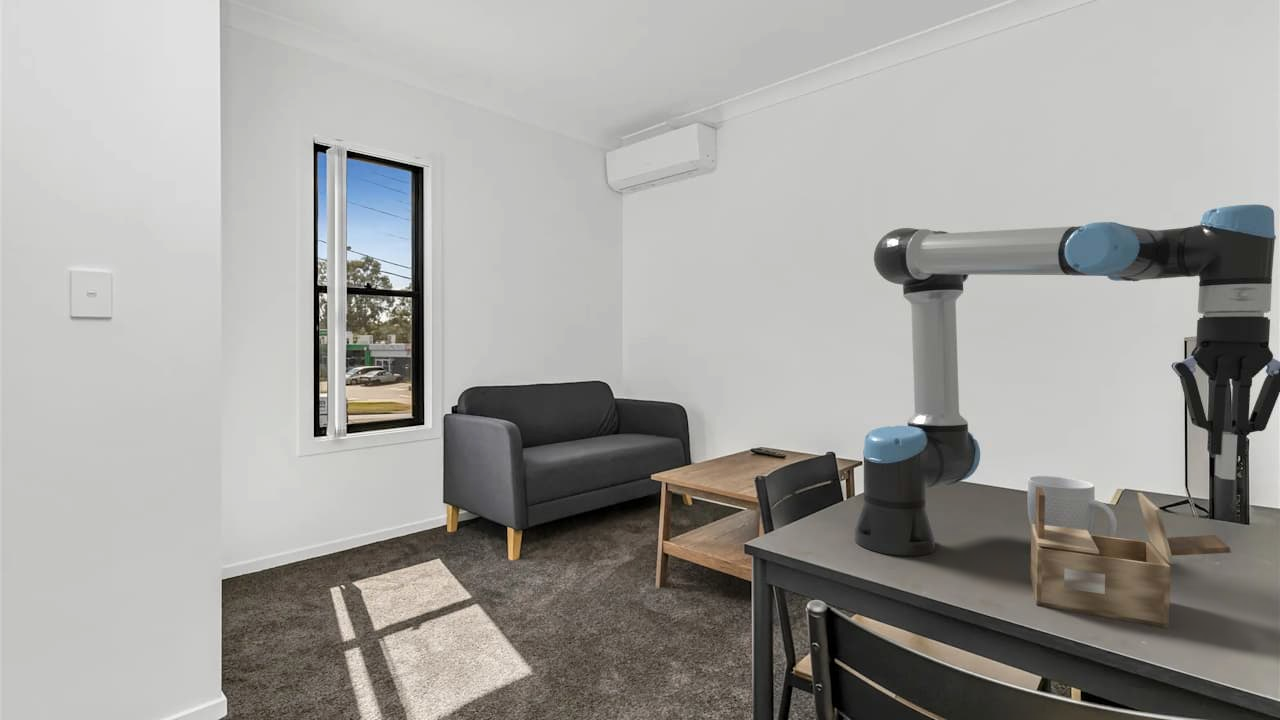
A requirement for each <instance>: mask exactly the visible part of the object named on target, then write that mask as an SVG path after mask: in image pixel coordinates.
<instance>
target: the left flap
mask: <svg viewBox="0 0 1280 720" xmlns="http://www.w3.org/2000/svg"><path fill="white" fill-rule="evenodd" d="M1032 529H1033V533H1034V536H1035V539H1036V543H1037V546H1044V547H1051V548H1058V549H1066V550H1073V551H1080V552H1088V553H1095V554H1099V550H1098V548H1097V546H1096V545H1095V543H1094V541H1093V539H1092V538H1091V536H1090V535H1091V534H1089V532H1088V531H1087V530H1081V529H1073V528H1065V527H1056V526H1048V525H1045V494H1044V492H1043V490H1042V487H1036V503H1035V524H1032Z"/></svg>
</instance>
